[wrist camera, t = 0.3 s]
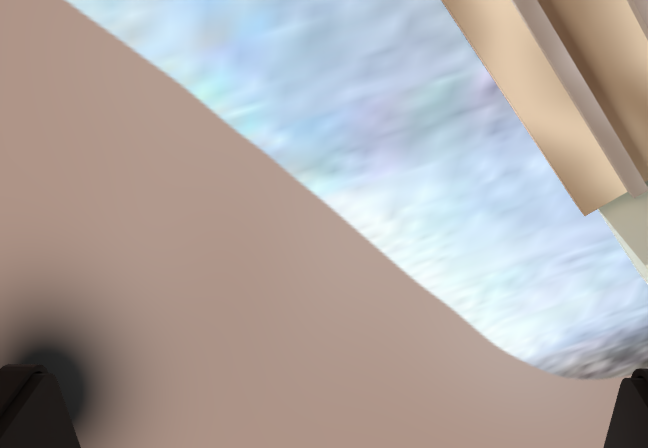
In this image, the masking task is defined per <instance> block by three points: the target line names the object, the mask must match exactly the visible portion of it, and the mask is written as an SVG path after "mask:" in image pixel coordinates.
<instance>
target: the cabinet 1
mask: <svg viewBox="0 0 648 448" xmlns="http://www.w3.org/2000/svg"><path fill="white" fill-rule="evenodd" d="M645 183H646V185H647V187H648V180H647V181H646V182H645ZM598 211H599V212H600V214H601V215H602V217H603V219H604V220H605V222H606V223H607V225H608V226H609V228H610V229H611V231H612V233H613V234H614V236H615V237H616V239H617V240H618V242H619V243H620V245H621V247H622V248H623V250H624V251H625V253H626V254H627V256H628V257H629V259H630V260H631V262H632V264H633V265H634V267H635V268H636V270H637V271H638V273H639V274H640V275H641V277H642V278H643V279H644V280H645V282H646V283H647V284H648V191H646V192H644V193H643V194H641V195H639V196H637V197H636V198H633V197H632V196H631V195H630V194H629V193H628V192H626V193H625V194H623V195H621V196H619V197H618V198H616V199H614V200H612V201H611V202H609V203H607V204H605V205H604V206H602V207H600V208H598Z"/></svg>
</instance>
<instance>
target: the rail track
mask: <svg viewBox="0 0 648 448" xmlns="http://www.w3.org/2000/svg"><path fill="white" fill-rule="evenodd" d="M441 1H442V2H443V4H444V5H445V7H446V8H447V10H448V11H449V13H450V15H451V16H452V18H453V19H454V21H455V22H456V24H457V25H458V27H459V28H460V30H461V31H462V33H463V34H464V36H465V37H466V39H467V40H468V42H469V43H470V45H471V46H472V48H473V49H474V51H475V52H476V54H477V55H478V57H479V58H480V60H481V61H482V63H483V65H484V66H485V68H486V69H487V71H488V72H489V74H490V75H491V77H492V78H493V80H494V81H495V83H496V84H497V86H498V87H499V89H500V90H501V92H502V93H503V95H504V96H505V98H506V99H507V101H508V102H509V104H510V105H511V107H512V108H513V110H514V112H515V113H516V115H517V116H518V118H519V119H520V121H521V122H522V124H523V125H524V127H525V128H526V130H527V131H528V133H529V134H530V136H531V137H532V139H533V140H534V142H535V143H536V145H537V146H538V148H539V149H540V151H541V152H542V154H543V155H544V157H545V159H546V160H547V162H548V163H549V165H550V166H551V168H552V169H553V171H554V172H555V174H556V175H557V177H558V178H559V180H560V181H561V183H562V184H563V186H564V187H565V189H566V190H567V192H568V193H569V195H570V196H571V198H572V199H573V201H574V202H575V204H576V205H577V207H578V208H579V210H580V211H581V212H582V214H583V215H584V216H586V215H588V214H590V213H591V212H593V211H595V210H597V209H598V208H600V207H602V206H604V205H605V204H607V203H609V202H611V201H612V200H614V199H616V198H618V197H619V196H621V195H623V194H625V193H626V192H628V193H629V194H630V195H631V196H632V197H633V198H636V197H637V196H639V195H641V194H643V193H644V192H646V191H648V187H647V185H646V183H645V182H646V181H647V180H648V0H441Z"/></svg>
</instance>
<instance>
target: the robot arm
mask: <svg viewBox="0 0 648 448" xmlns="http://www.w3.org/2000/svg"><path fill="white" fill-rule="evenodd" d="M0 448H81V447H80V444H79V442H78V439H77V436H76V433H75V430H74V427H73V425H72V422H71V419H70V416H69V413H68V410H67V407H66V404H65V402H64V399H63V396H62V393H61V390H60V387H59V385H58V381H57V379H56V377H55V375H53V374H51V373H48V371H47V369H46V368H45V367H44V366H43V365H28V364H26V365H22V364H19V365H18V364H8V365H5V366H3V367H2V368H1V369H0ZM604 448H648V369H636V370H635V371H634V372H633V374H632V376H631V378H624V379H623V380H622V382H621V385H620V388H619V392H618V396H617V399H616V403H615V407H614V411H613V414H612V418H611V422H610V426H609V430H608V433H607V437H606V441H605V444H604Z"/></svg>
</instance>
